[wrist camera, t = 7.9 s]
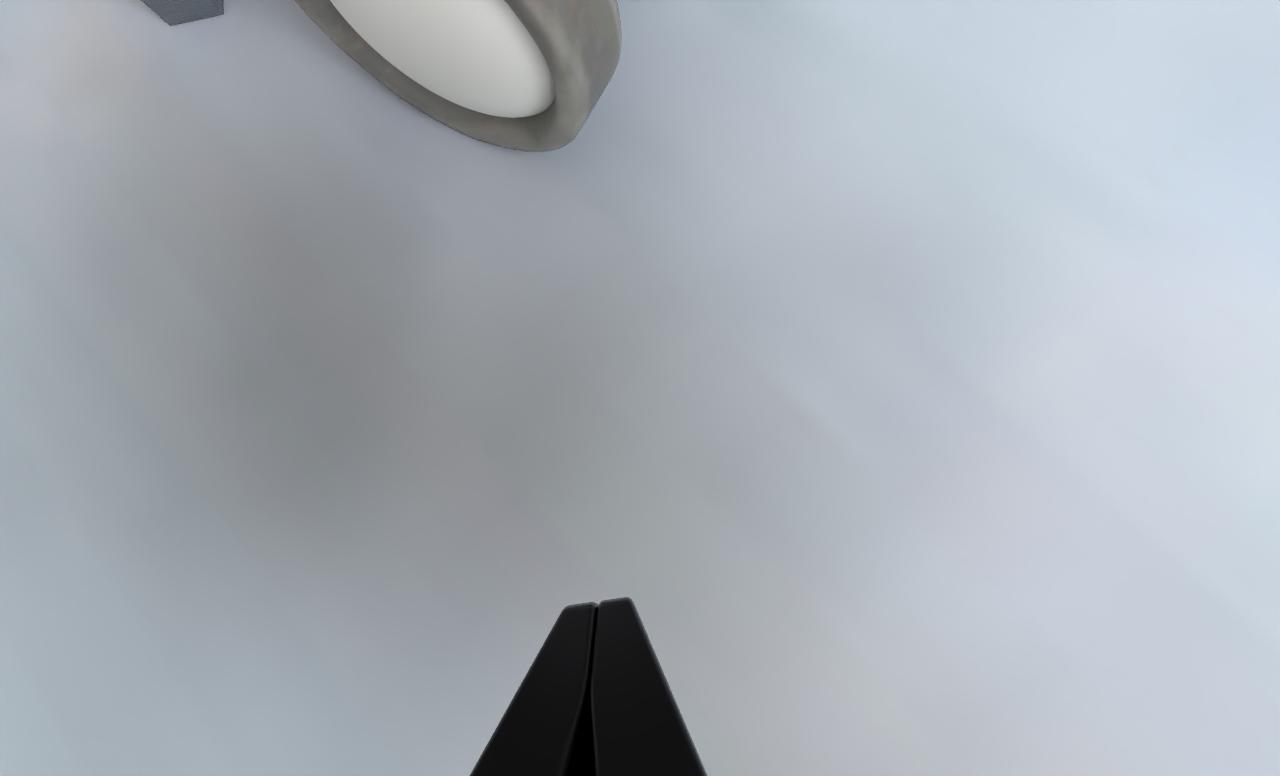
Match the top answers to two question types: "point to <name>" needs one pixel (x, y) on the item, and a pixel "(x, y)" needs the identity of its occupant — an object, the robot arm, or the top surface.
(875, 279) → the top surface
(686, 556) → the top surface
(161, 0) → the duct bracket
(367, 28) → the pipe fitting
